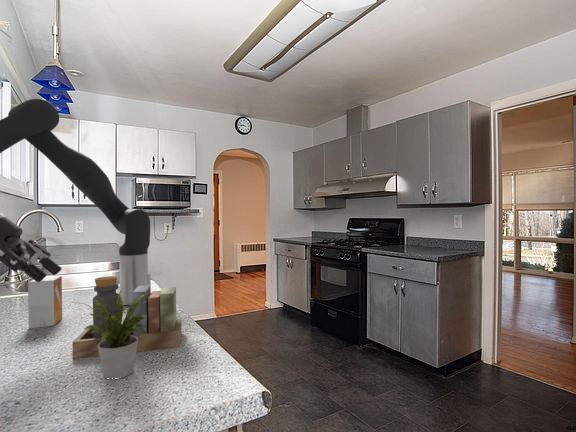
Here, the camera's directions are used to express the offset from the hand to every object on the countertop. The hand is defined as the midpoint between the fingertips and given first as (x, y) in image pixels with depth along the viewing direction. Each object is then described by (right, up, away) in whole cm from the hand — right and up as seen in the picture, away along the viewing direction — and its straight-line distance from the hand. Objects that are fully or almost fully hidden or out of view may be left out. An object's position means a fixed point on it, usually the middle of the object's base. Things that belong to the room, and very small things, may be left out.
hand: (51, 275), depth 78 cm
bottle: (+13, -16, +1) cm, 20 cm away
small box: (-15, -18, +20) cm, 31 cm away
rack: (+18, -17, +2) cm, 25 cm away
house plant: (+21, -17, -14) cm, 30 cm away
